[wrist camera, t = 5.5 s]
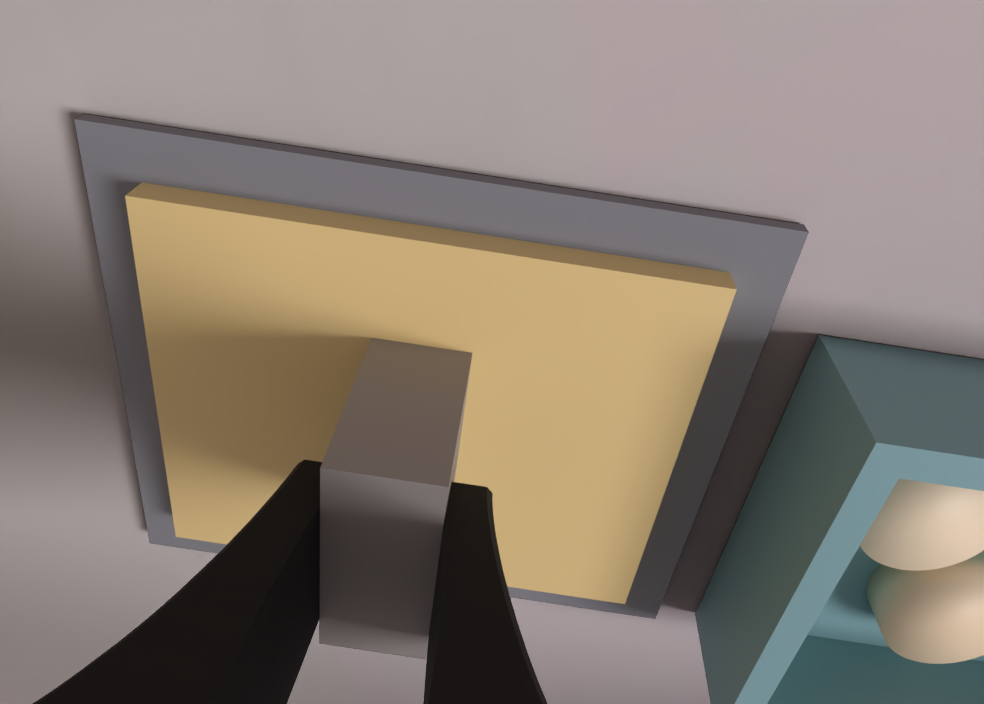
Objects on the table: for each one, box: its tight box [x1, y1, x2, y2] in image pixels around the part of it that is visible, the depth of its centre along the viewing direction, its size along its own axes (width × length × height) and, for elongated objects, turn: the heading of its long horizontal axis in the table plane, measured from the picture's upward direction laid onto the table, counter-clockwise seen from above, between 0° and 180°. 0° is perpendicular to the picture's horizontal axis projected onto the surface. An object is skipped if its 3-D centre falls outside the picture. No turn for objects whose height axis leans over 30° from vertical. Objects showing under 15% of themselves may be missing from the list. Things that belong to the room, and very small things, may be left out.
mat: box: [74, 114, 809, 619], centre depth 15 cm, size 12×10×1 cm
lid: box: [125, 182, 737, 659], centre depth 13 cm, size 10×8×4 cm
